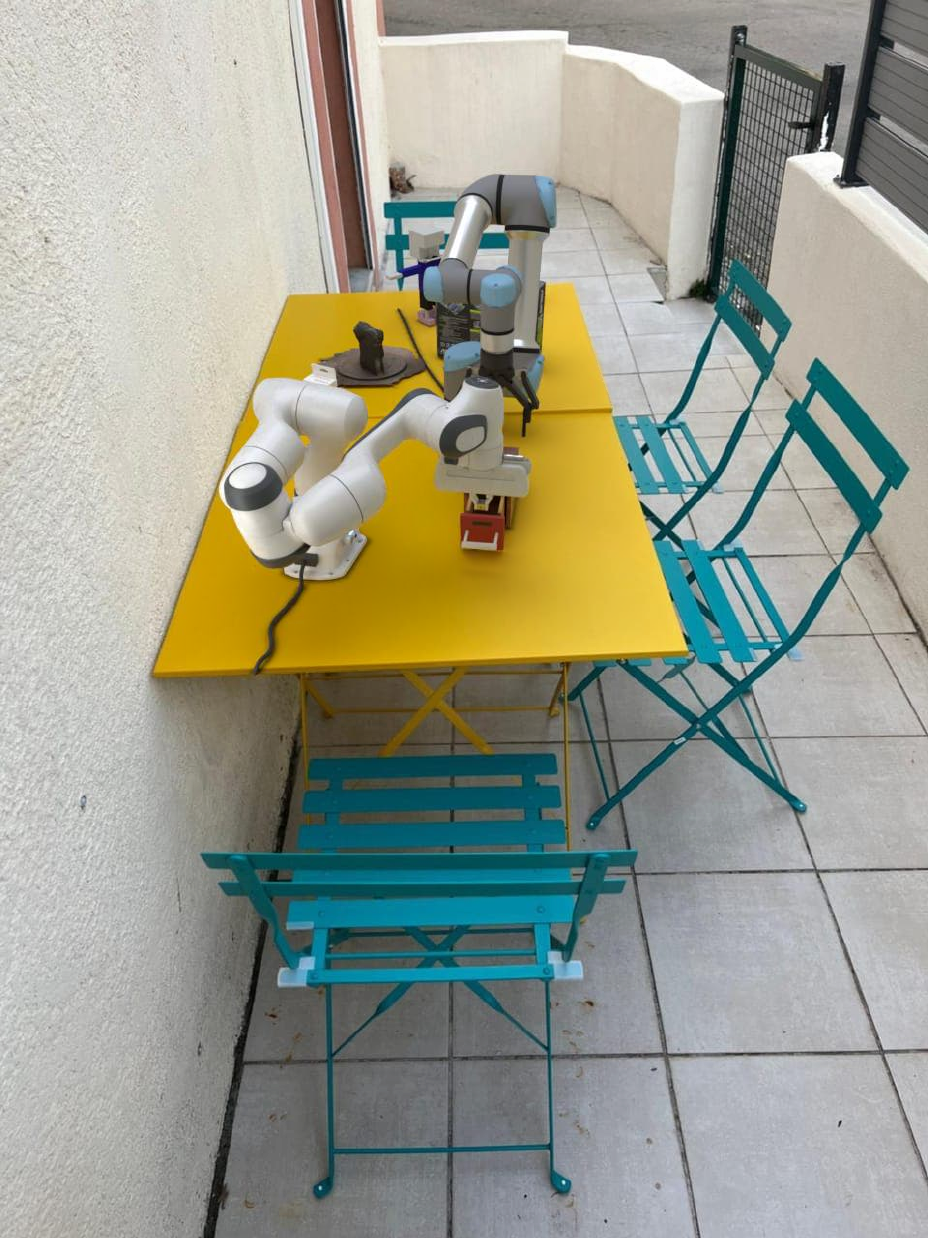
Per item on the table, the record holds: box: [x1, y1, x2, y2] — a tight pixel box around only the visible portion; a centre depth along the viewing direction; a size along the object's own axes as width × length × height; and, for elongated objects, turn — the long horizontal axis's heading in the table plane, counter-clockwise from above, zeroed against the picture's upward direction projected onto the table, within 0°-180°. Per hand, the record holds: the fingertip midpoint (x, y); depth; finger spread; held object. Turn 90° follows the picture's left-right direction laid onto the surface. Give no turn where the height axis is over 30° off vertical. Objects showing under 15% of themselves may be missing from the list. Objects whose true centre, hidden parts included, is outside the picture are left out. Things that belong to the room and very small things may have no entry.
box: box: [435, 280, 547, 359], centre depth 273 cm, size 34×7×27 cm, turn 68°
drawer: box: [459, 494, 507, 551], centre depth 204 cm, size 25×10×9 cm, turn 172°
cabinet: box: [463, 446, 520, 530], centre depth 215 cm, size 20×11×11 cm, turn 172°
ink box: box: [302, 363, 338, 387], centre depth 249 cm, size 9×5×15 cm, turn 62°
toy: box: [384, 223, 446, 327], centre depth 298 cm, size 35×10×30 cm, turn 130°
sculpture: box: [316, 320, 426, 387], centre depth 273 cm, size 33×35×16 cm
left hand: (481, 508), depth 192 cm, fingers closed
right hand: (495, 432), depth 212 cm, fingers open, 13 cm apart
